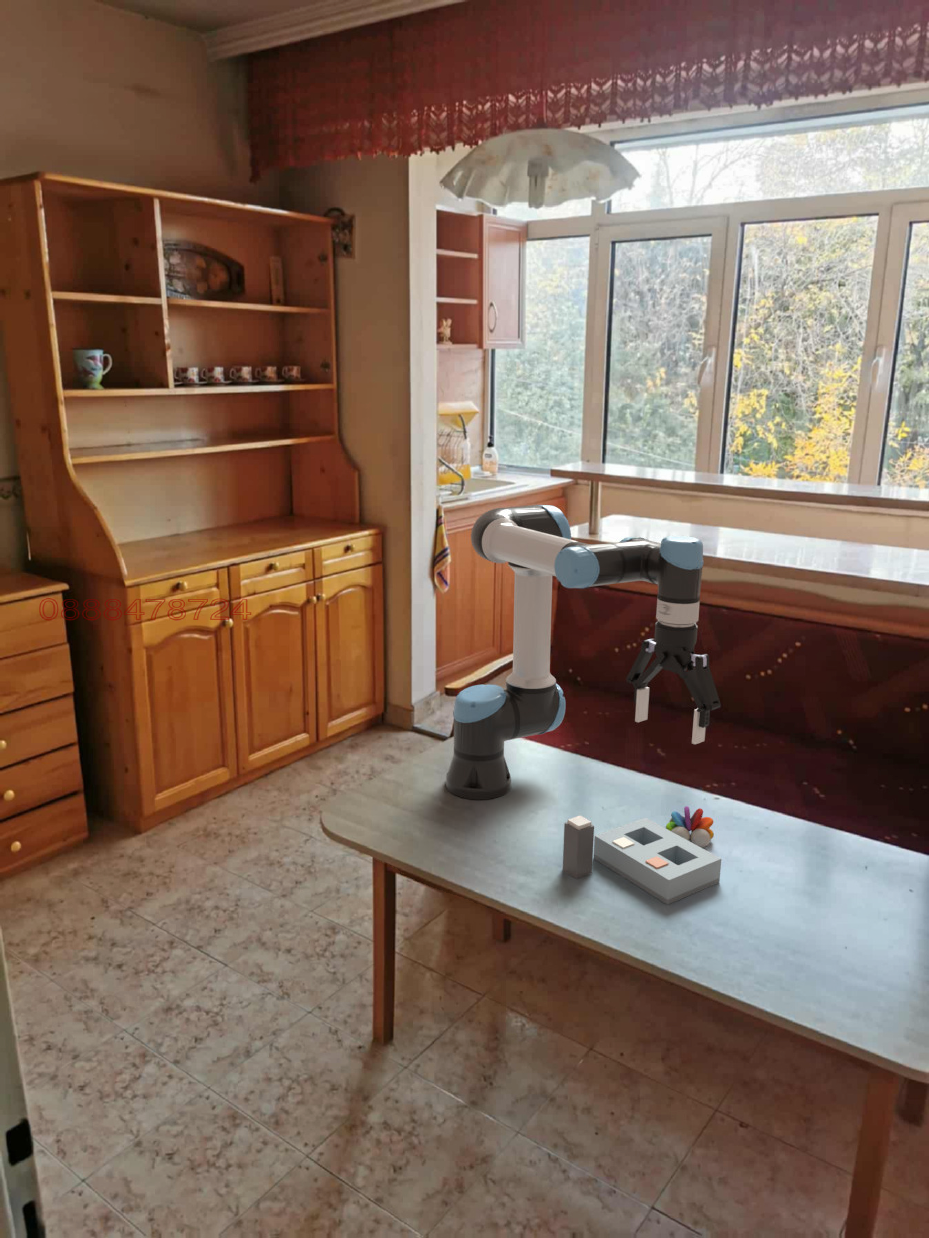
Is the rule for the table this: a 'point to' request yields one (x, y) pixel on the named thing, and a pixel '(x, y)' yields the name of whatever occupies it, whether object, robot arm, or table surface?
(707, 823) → the rainbow petal fan toy
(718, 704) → the robot arm
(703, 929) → the table surface
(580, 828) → the plug
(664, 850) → the socket box
